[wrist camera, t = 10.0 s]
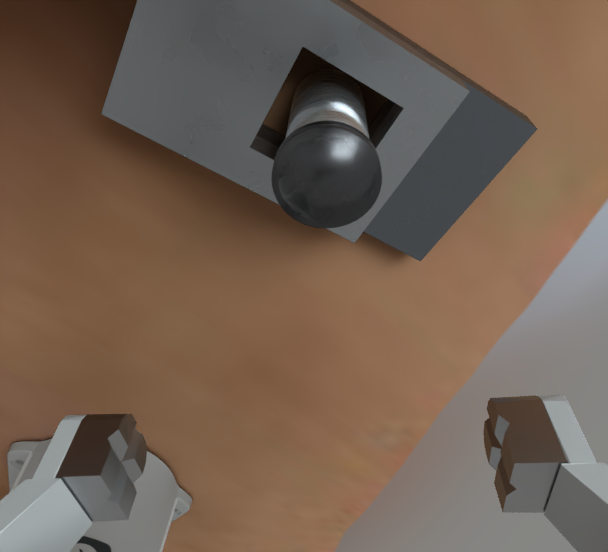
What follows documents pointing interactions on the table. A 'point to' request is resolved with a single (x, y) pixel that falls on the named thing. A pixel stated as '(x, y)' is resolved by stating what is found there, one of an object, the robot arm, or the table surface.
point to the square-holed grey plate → (268, 81)
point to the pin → (327, 154)
